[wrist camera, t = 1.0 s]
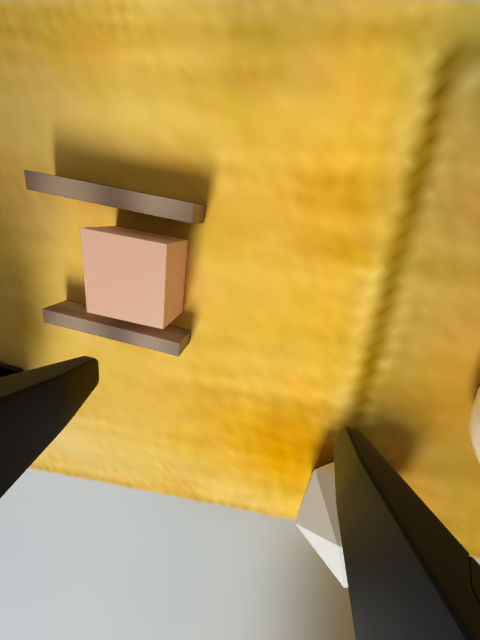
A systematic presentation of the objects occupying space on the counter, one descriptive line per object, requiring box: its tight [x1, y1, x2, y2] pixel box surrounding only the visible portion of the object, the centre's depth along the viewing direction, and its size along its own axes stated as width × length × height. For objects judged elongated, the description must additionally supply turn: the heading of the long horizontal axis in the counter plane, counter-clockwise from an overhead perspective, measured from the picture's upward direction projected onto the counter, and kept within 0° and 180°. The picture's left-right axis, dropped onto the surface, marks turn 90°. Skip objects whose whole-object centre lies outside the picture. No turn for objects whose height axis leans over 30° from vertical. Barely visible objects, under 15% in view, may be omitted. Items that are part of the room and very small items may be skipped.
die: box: [295, 462, 348, 588], centre depth 22 cm, size 8×9×10 cm
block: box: [80, 226, 188, 329], centre depth 19 cm, size 6×6×4 cm
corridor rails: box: [24, 170, 206, 356], centre depth 20 cm, size 12×11×2 cm
